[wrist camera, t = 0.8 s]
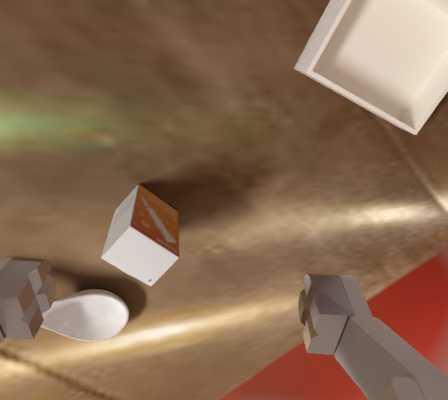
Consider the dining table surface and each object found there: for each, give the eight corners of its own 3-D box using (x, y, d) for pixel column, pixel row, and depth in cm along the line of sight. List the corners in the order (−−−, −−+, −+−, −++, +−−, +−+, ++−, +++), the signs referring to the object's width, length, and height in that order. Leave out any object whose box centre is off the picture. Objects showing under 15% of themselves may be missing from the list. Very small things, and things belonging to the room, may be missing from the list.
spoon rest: (141, 291, 64) (138, 321, 57) (114, 333, 68) (108, 365, 61) (6, 242, 55) (-15, 270, 49) (-17, 293, 59) (-39, 325, 53)
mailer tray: (396, 126, 55) (415, 135, 51) (293, 68, 49) (305, 72, 44) (465, 26, 49) (494, 26, 45) (359, -55, 43) (381, -63, 39)
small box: (178, 210, 57) (181, 258, 45) (154, 236, 58) (151, 288, 47) (138, 181, 54) (129, 225, 42) (114, 209, 55) (99, 259, 44)
